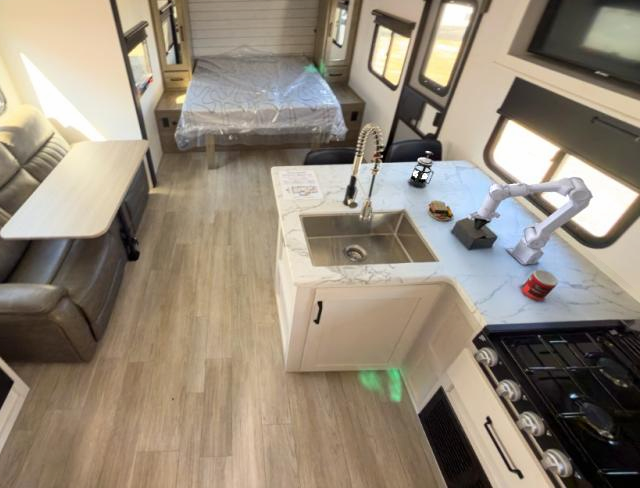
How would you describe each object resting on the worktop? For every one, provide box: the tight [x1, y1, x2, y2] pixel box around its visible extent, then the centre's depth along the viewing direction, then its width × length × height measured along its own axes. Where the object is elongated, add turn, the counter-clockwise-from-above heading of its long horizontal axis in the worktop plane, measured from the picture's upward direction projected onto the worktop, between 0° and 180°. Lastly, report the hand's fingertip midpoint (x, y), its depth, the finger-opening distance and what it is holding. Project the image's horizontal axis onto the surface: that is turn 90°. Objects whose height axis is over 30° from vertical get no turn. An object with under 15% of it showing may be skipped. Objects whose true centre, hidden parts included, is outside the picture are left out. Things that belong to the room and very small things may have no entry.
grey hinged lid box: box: [451, 219, 498, 250], centre depth 162 cm, size 13×13×7 cm
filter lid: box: [456, 216, 487, 239], centre depth 159 cm, size 13×6×1 cm, turn 7°
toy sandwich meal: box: [427, 200, 454, 222], centre depth 178 cm, size 12×14×5 cm
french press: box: [408, 150, 435, 189], centre depth 197 cm, size 12×9×23 cm
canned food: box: [521, 269, 559, 302], centre depth 134 cm, size 8×8×11 cm
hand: (476, 228), depth 157 cm, fingers closed
